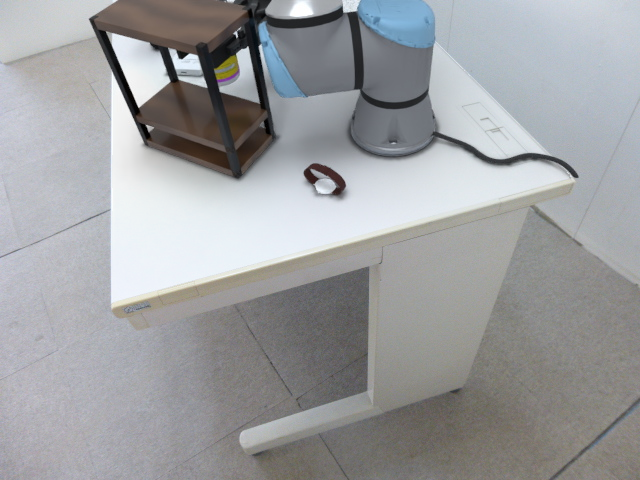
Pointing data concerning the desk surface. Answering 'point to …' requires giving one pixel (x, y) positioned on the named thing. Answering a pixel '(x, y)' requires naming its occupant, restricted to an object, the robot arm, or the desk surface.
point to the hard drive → (187, 65)
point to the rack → (185, 98)
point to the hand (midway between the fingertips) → (195, 56)
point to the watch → (325, 184)
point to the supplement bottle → (227, 71)
